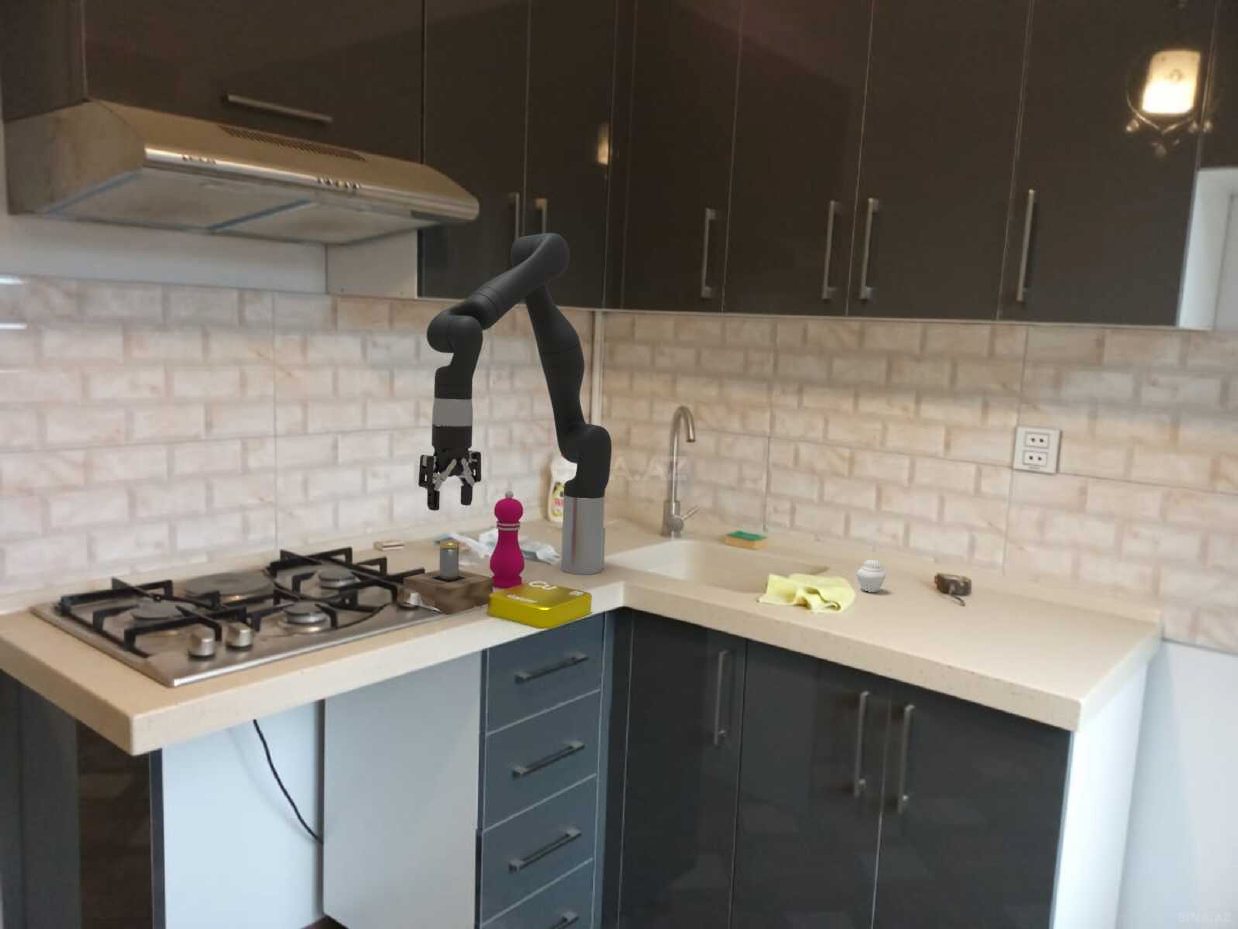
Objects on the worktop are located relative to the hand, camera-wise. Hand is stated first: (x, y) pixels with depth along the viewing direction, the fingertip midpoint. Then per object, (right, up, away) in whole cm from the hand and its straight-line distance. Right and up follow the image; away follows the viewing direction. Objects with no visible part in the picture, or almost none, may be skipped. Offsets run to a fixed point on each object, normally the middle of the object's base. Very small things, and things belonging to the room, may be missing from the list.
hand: (449, 507), depth 179 cm
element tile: (+17, -21, -2) cm, 27 cm away
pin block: (-1, -19, +2) cm, 19 cm away
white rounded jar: (+87, -20, +27) cm, 93 cm away
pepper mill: (+9, -17, +18) cm, 26 cm away
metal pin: (-1, -19, +2) cm, 19 cm away
